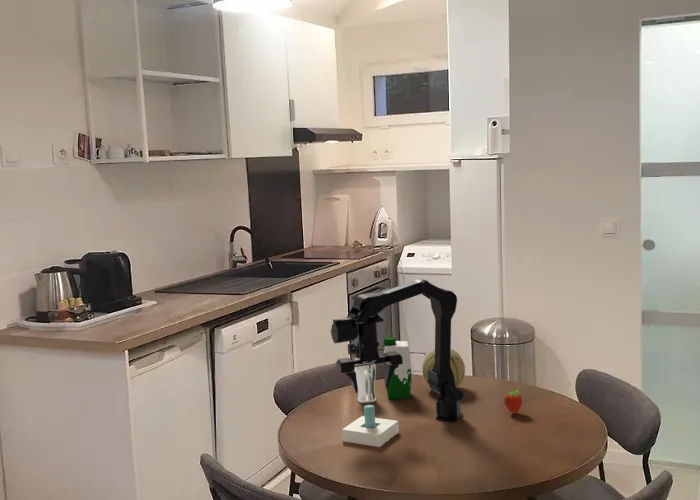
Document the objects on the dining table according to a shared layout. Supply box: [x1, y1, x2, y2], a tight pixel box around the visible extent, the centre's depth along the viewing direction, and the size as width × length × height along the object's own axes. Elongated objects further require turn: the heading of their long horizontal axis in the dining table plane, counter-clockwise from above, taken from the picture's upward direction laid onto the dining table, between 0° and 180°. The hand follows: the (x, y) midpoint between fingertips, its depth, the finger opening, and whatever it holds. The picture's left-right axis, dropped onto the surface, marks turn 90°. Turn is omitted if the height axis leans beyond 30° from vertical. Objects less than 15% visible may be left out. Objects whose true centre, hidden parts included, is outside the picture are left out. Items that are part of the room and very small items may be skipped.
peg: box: [363, 404, 376, 429], centre depth 214 cm, size 3×3×9 cm
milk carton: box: [382, 336, 412, 400], centre depth 250 cm, size 9×9×20 cm
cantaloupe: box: [422, 348, 466, 388], centre depth 254 cm, size 15×15×15 cm
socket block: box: [341, 415, 400, 448], centre depth 215 cm, size 12×12×4 cm
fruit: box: [503, 389, 523, 415], centre depth 227 cm, size 5×5×8 cm
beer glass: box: [354, 357, 377, 404], centre depth 247 cm, size 7×7×15 cm
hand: (371, 390), depth 217 cm, fingers open, 9 cm apart
